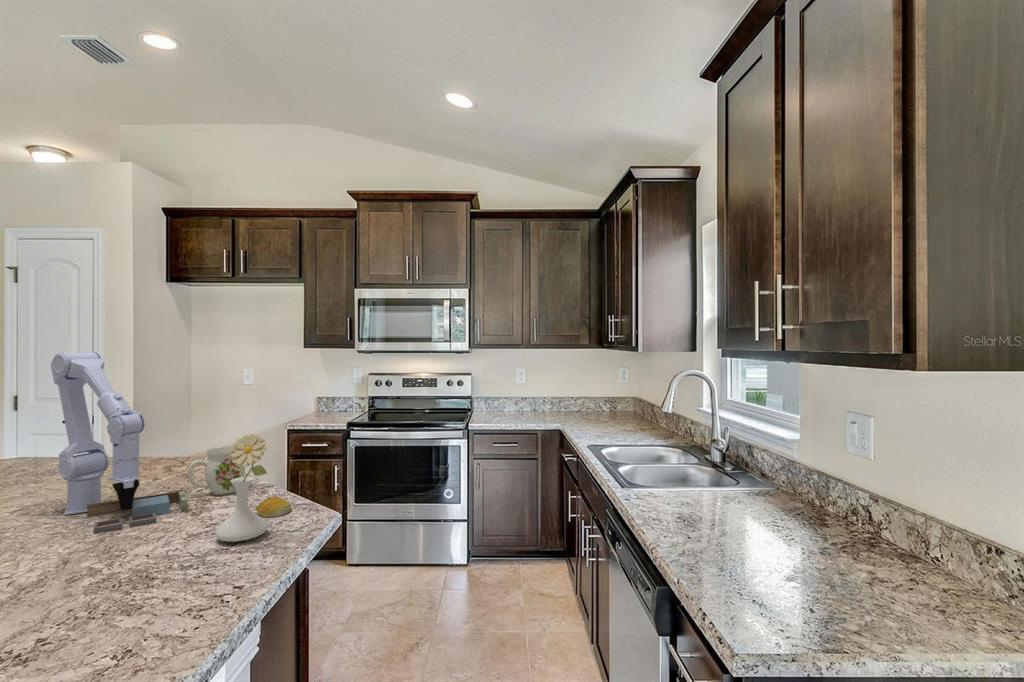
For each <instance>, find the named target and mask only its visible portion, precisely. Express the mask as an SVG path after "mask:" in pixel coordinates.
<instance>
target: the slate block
mask: <svg viewBox="0 0 1024 682" xmlns="http://www.w3.org/2000/svg"><path fill="white" fill-rule="evenodd" d="M154 512H155V515H156V517H157V516H162V515H168V514H170V504H169V499H168V495H164V496H157V497H150V498H144V499H137V500H133V510H132V516H136V515H142V514H148V513H154Z"/></svg>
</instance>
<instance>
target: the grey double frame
mask: <svg viewBox="0 0 1024 682" xmlns="http://www.w3.org/2000/svg"><path fill="white" fill-rule="evenodd" d="M128 523H129V528H133V527H134V528H135V527H140V526H145V525H151V524H156V523H157V516H156V515H155V512H154V513H148V514H142V515H136V516H133V515H131V516H129V522H128ZM93 524H94V525H93V535H95V534H101V533H105V532H111V531H116V530H122V529H123V517H119V518H115V519H106V520H101V521H96V522H94V523H93Z"/></svg>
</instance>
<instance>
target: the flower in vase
mask: <svg viewBox="0 0 1024 682" xmlns="http://www.w3.org/2000/svg"><path fill="white" fill-rule="evenodd" d="M265 441H266V439H265V438H263V436H260V435H258V434H254V433H250V434H248V435H247V434H245V435H243V437H238V438H237V440H236V442H234V443H233V444H232V446H233V448H231V451H230V454H232V455H231V458H233V459H232V462H233V463H234V464H235V463H236V465H240V464H241V466H242V467H245V468H246V467H249V466H251V467H250V469H249V470H248V472H247V473H246V471H245V472H244V471H243V470H240V469H237V468H235V467H234V466H232V467H233V468H234V469H235V470H237V471H240V472H242V473H244V477H240V478H235V479H232V480H231V483H232V484H233V485H234V487H235V490H236V492H235V494H236V509H235V511H234V512H233V514H231V516H229V517H228V518H227V519H226V520H225V521H224V522H222V523H221V524H220V525H219V526H218V528H217V529H216V530H215V533H214V537H215V538H217V540H219V541H221V542H222V541H223V542H230V543H231V542H233V543H234V542H242V541H243V542H244V541H248V540H252V539H255V538H257V537H260V536H261V535H263V534H264V533H266V532H267V530H268V528H269V527H270V525H269V523H268V522H267V521H266V520H265V519H264V517H261V516H259V514H258V515H257V514H256V513H254V512H252V511H251V510H250V509H249V506H248V503H249V501H248V499H249V498H248V497H249V490H250V487H251V485H252V482H253V481H254V479H255V478H254V477H252V476H249V474H250V473H251V472H252V473H253V475H254V476H256V477H257V476H262V475H266V474H268V472H267V471H266V469H265V468H264V466H262V465H261V464H257V465H255V466H254V464H256V463H258V462H260V460H262V457H263V456H264V454H265V452H266V451H267V449H268V448H267V443H266V442H265Z"/></svg>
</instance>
